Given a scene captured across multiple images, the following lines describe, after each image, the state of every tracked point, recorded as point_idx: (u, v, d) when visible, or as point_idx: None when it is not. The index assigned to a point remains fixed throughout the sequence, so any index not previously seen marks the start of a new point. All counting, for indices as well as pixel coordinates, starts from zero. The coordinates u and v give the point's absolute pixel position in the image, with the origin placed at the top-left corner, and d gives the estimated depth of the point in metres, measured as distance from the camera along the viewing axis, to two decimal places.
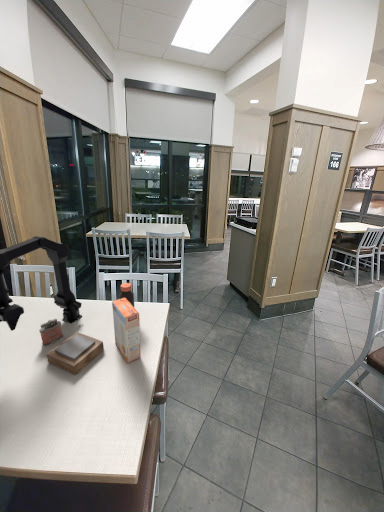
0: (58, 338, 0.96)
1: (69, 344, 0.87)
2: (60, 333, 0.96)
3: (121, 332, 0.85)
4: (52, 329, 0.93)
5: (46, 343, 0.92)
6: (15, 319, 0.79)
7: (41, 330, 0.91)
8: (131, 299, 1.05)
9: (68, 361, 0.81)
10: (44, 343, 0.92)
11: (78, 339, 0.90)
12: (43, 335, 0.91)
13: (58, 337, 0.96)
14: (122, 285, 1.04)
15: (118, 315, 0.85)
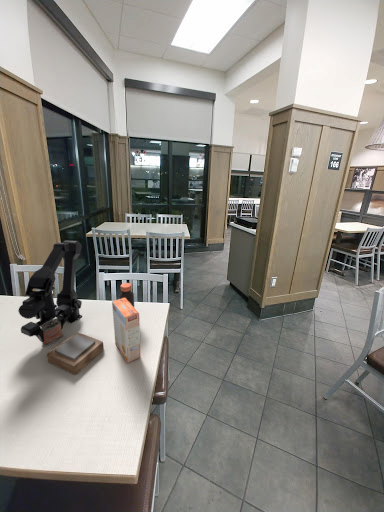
0: (58, 338, 0.96)
1: (69, 344, 0.87)
2: (60, 333, 0.97)
3: (121, 332, 0.85)
4: (52, 329, 0.93)
5: (46, 343, 0.92)
6: (38, 335, 0.88)
7: None
8: (131, 299, 1.05)
9: (68, 361, 0.81)
10: (44, 343, 0.92)
11: (78, 339, 0.90)
12: None
13: (58, 337, 0.96)
14: (122, 285, 1.04)
15: (118, 315, 0.85)
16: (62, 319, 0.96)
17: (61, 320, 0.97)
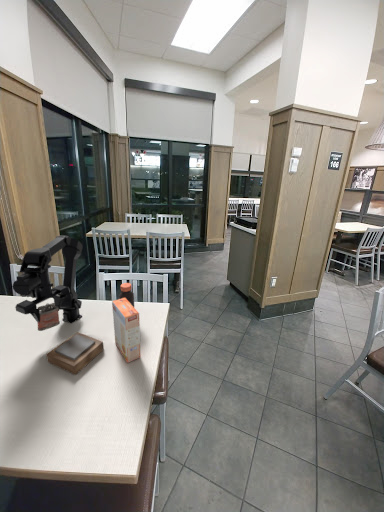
0: (54, 324, 0.93)
1: (69, 344, 0.87)
2: (57, 319, 0.94)
3: (121, 332, 0.85)
4: (49, 313, 0.90)
5: (41, 327, 0.89)
6: (34, 314, 0.85)
7: None
8: (131, 299, 1.05)
9: (68, 361, 0.81)
10: (39, 327, 0.89)
11: (78, 339, 0.90)
12: None
13: (54, 323, 0.93)
14: (122, 285, 1.04)
15: (118, 315, 0.85)
16: (59, 299, 0.93)
17: (58, 300, 0.93)
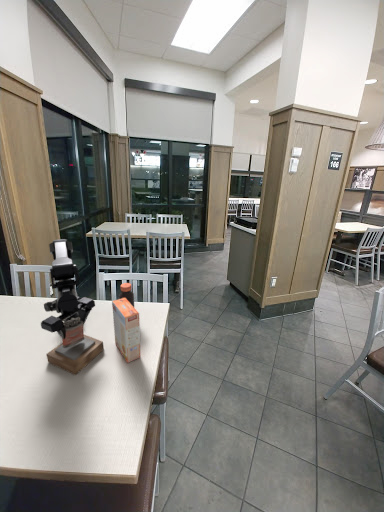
0: (79, 340, 0.86)
1: None
2: (82, 334, 0.87)
3: (121, 332, 0.85)
4: (74, 329, 0.83)
5: (66, 344, 0.83)
6: (60, 331, 0.78)
7: None
8: (131, 299, 1.05)
9: (68, 361, 0.81)
10: (64, 344, 0.82)
11: None
12: None
13: (79, 339, 0.86)
14: (122, 285, 1.04)
15: (118, 315, 0.85)
16: (84, 313, 0.86)
17: (83, 314, 0.87)
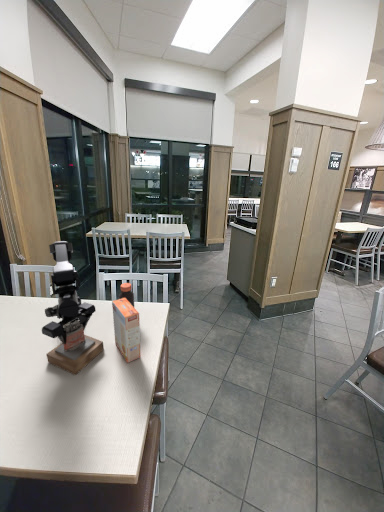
0: (80, 343, 0.87)
1: None
2: (83, 337, 0.87)
3: (121, 332, 0.85)
4: (74, 333, 0.84)
5: (68, 348, 0.83)
6: (61, 337, 0.79)
7: None
8: (131, 299, 1.05)
9: (68, 361, 0.81)
10: (66, 348, 0.83)
11: None
12: None
13: (80, 342, 0.87)
14: (122, 285, 1.04)
15: (118, 315, 0.85)
16: (84, 319, 0.87)
17: (83, 320, 0.87)
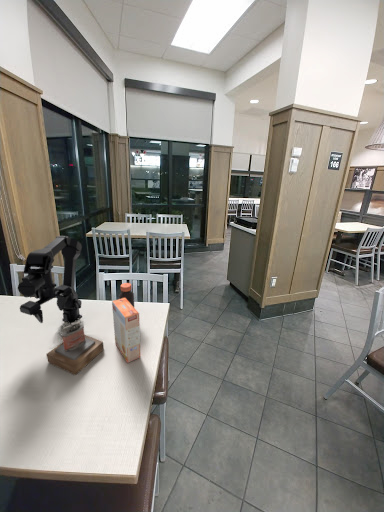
0: (80, 343, 0.87)
1: None
2: (83, 337, 0.87)
3: (121, 332, 0.85)
4: (75, 333, 0.84)
5: (68, 348, 0.83)
6: (37, 315, 0.85)
7: (63, 334, 0.82)
8: (131, 299, 1.05)
9: (68, 361, 0.81)
10: (66, 348, 0.83)
11: None
12: (65, 340, 0.82)
13: (81, 342, 0.87)
14: (122, 285, 1.04)
15: (118, 315, 0.85)
16: (63, 299, 0.94)
17: (62, 300, 0.95)
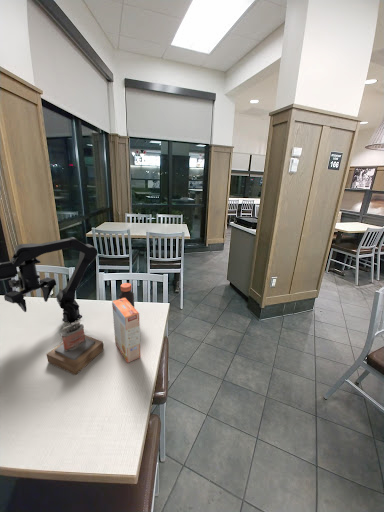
0: (80, 343, 0.87)
1: None
2: (83, 337, 0.87)
3: (121, 332, 0.85)
4: (75, 333, 0.84)
5: (68, 348, 0.83)
6: (21, 304, 0.92)
7: (63, 334, 0.82)
8: (131, 299, 1.05)
9: (68, 361, 0.81)
10: (66, 348, 0.83)
11: None
12: (65, 340, 0.82)
13: (81, 342, 0.87)
14: (122, 285, 1.04)
15: (118, 315, 0.85)
16: (47, 290, 1.00)
17: (46, 291, 1.01)
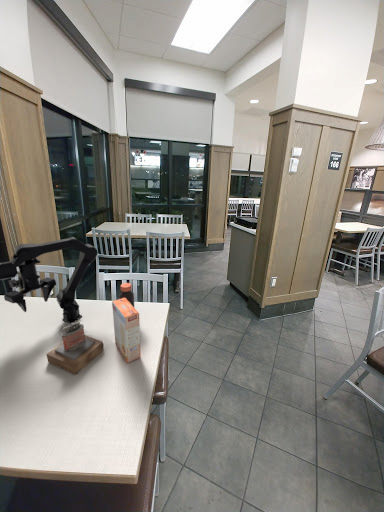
0: (80, 343, 0.87)
1: None
2: (83, 337, 0.87)
3: (121, 332, 0.85)
4: (75, 333, 0.84)
5: (68, 348, 0.83)
6: (21, 304, 0.92)
7: (63, 334, 0.82)
8: (131, 299, 1.05)
9: (68, 361, 0.81)
10: (66, 348, 0.83)
11: None
12: (65, 340, 0.82)
13: (81, 342, 0.87)
14: (122, 285, 1.04)
15: (118, 315, 0.85)
16: (47, 290, 1.00)
17: (46, 291, 1.01)
